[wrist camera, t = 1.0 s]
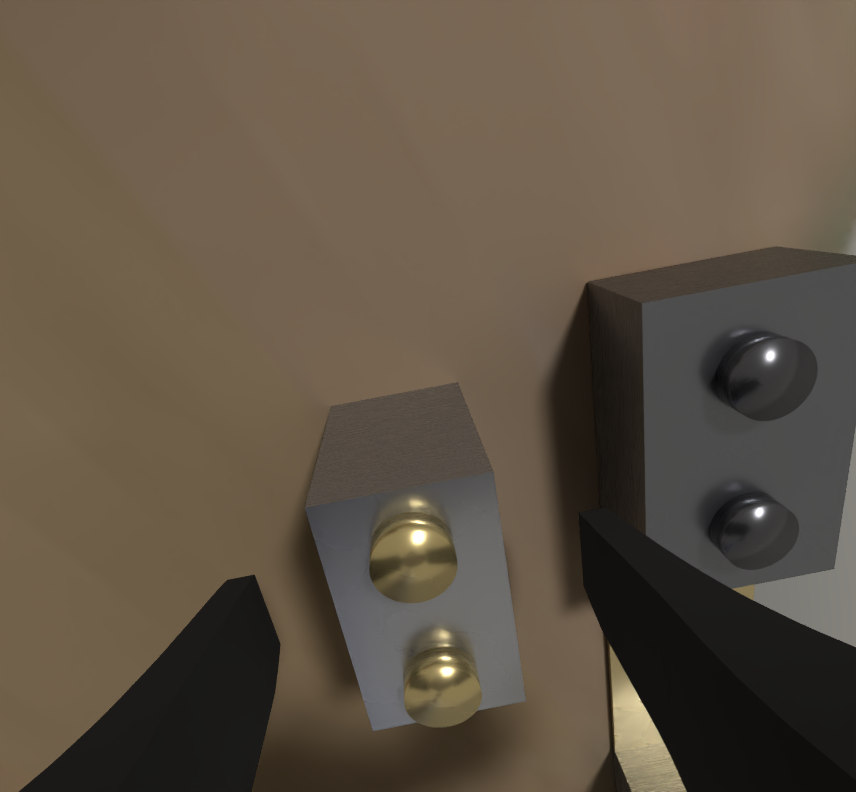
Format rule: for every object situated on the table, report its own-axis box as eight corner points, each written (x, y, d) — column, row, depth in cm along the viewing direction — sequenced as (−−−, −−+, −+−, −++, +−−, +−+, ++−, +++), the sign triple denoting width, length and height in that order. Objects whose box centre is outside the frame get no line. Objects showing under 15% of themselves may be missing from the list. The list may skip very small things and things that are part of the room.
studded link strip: (730, 845, 23) (789, 957, 19) (619, 867, 23) (660, 983, 19) (776, 246, 13) (908, 261, 10) (587, 281, 13) (656, 309, 10)
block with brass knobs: (485, 557, 16) (532, 726, 11) (376, 578, 16) (372, 758, 11) (457, 381, 14) (500, 488, 9) (331, 405, 14) (299, 527, 9)
